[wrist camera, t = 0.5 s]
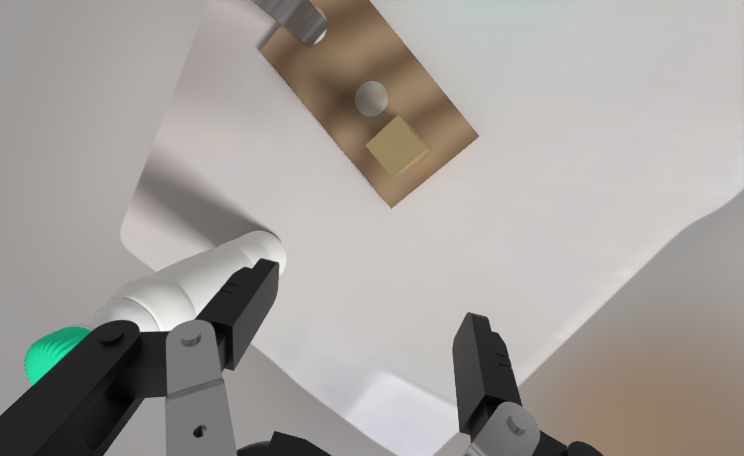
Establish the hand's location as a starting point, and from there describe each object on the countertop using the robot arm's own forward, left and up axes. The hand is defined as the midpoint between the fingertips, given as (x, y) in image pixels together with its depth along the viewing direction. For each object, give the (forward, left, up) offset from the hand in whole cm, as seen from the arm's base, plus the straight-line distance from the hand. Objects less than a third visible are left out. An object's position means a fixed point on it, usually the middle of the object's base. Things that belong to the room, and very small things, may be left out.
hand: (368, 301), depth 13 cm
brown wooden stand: (-8, -10, -25) cm, 28 cm away
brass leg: (-5, -4, -24) cm, 24 cm away
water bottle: (+16, -14, -26) cm, 33 cm away
